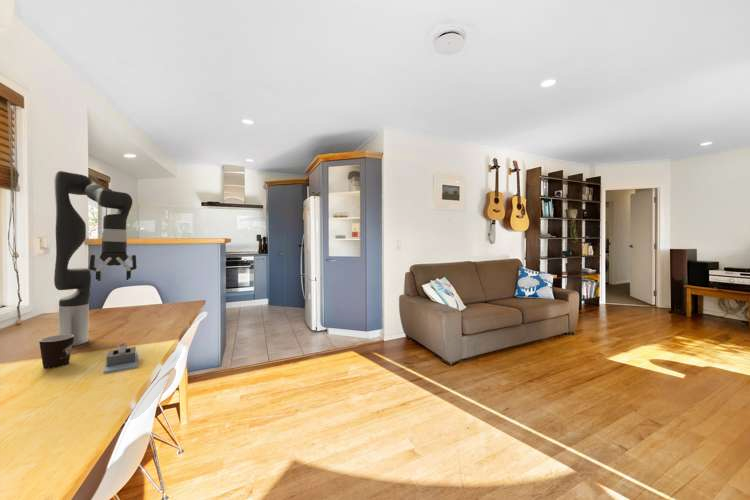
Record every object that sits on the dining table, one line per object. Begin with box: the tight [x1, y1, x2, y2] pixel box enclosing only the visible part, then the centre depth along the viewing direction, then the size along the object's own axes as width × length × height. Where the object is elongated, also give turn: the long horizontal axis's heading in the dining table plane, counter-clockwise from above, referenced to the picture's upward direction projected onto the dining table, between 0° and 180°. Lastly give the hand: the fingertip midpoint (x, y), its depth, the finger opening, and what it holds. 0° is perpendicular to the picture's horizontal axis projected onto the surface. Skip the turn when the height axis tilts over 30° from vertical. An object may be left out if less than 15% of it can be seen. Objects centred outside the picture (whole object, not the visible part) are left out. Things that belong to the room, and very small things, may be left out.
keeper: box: [103, 342, 138, 375], centre depth 111 cm, size 16×9×8 cm, turn 39°
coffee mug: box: [38, 334, 74, 370], centre depth 109 cm, size 12×9×10 cm
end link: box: [106, 344, 137, 367], centre depth 113 cm, size 14×8×4 cm, turn 39°
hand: (113, 280), depth 119 cm, fingers open, 8 cm apart
